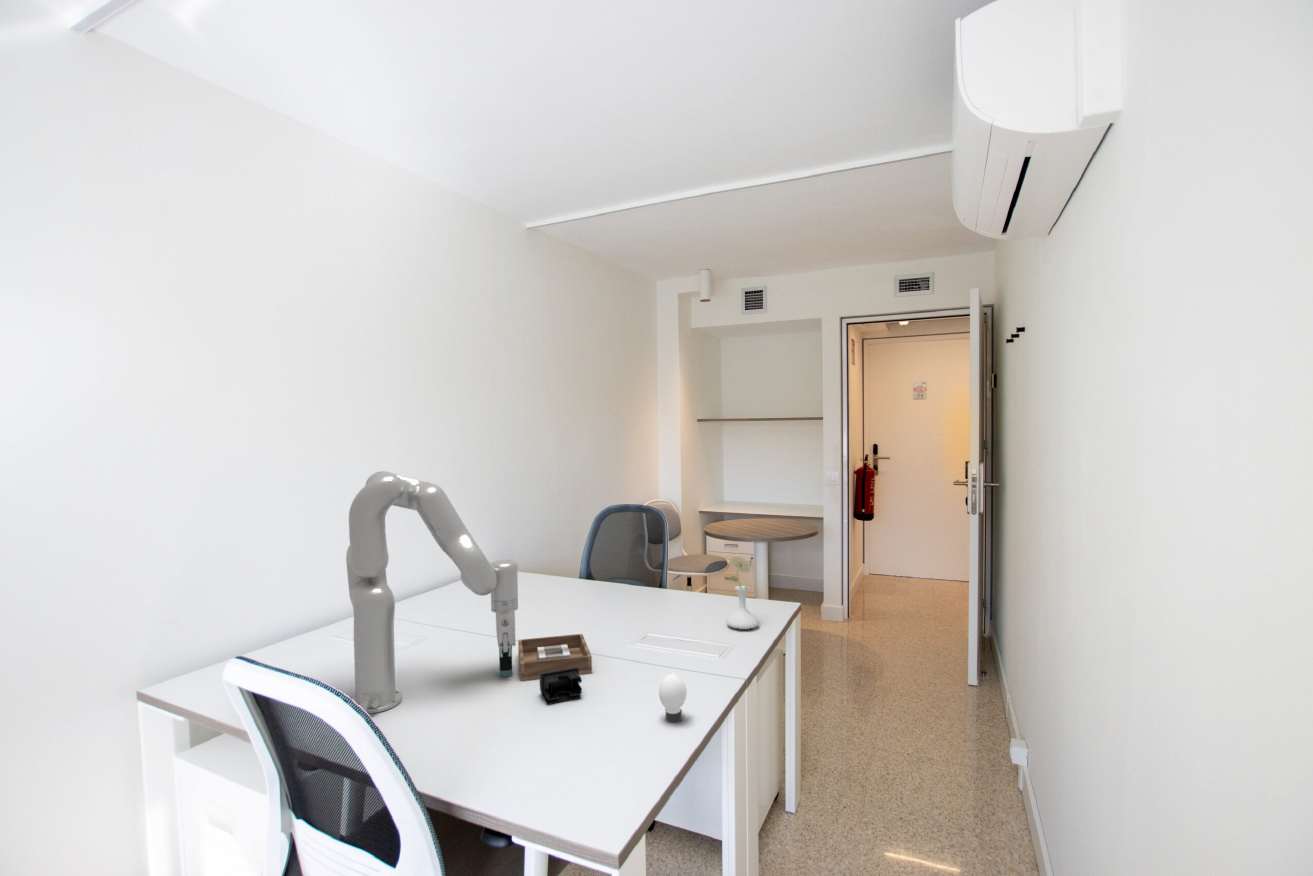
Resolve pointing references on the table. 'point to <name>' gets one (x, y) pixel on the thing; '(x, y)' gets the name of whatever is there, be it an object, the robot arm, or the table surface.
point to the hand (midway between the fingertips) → (505, 666)
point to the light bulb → (672, 696)
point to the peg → (501, 673)
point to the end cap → (560, 686)
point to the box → (553, 655)
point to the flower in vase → (741, 599)
